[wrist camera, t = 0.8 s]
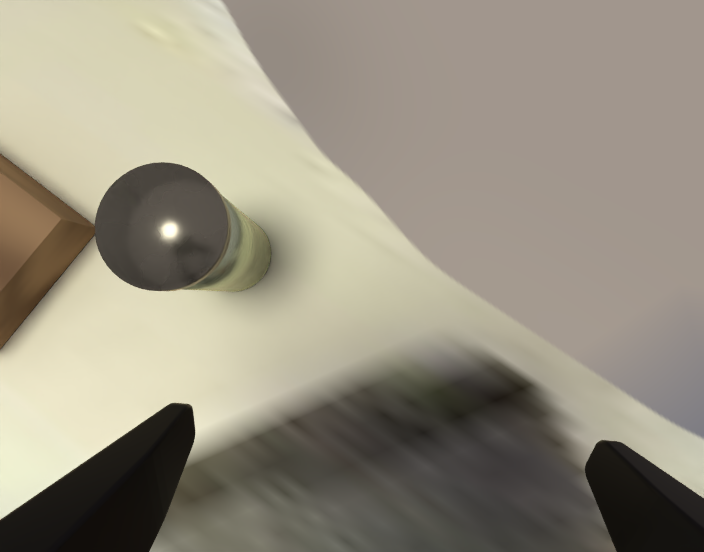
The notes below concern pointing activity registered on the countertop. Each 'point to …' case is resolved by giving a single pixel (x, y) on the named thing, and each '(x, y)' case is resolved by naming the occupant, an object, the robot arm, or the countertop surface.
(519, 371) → the countertop surface
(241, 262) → the spice tin
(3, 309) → the walnut block
